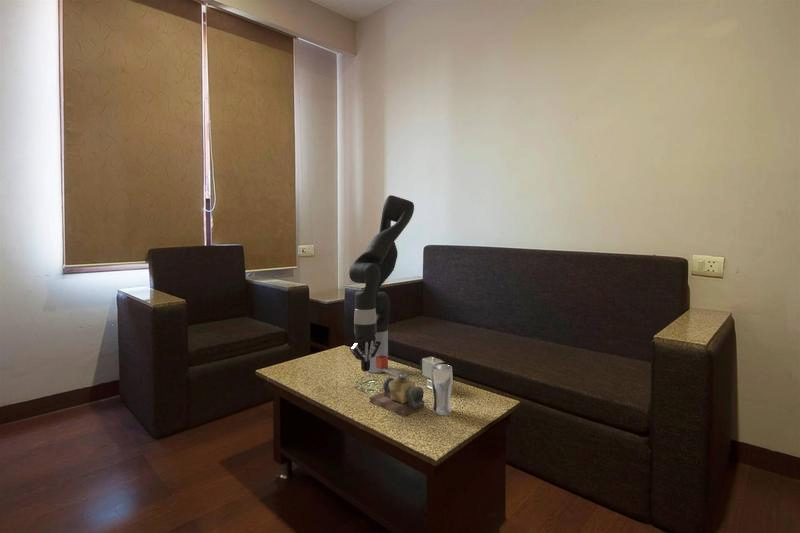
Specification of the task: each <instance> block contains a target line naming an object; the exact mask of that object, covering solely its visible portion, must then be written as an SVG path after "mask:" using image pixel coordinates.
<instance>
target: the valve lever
mask: <svg viewBox="0 0 800 533" xmlns="http://www.w3.org/2000/svg"><path fill="white" fill-rule="evenodd" d="M376 369H379V370H382V371H384V372H383V373H386V374H390V375H393V376H395V377H398V378H399V379H408V373H407V372H402V371H400V370H397V369H393V368H391V367H389V356H388V357H386V356H383V355H381V356H377V357H376ZM398 378H397V379H398Z"/></svg>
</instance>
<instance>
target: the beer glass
mask: <svg viewBox="0 0 800 533" xmlns="http://www.w3.org/2000/svg"><path fill="white" fill-rule="evenodd" d="M430 379H431V384H432V395H433V396H432V397H433V404H432V405H433V407H432V413H433V414H434V415H437V416H448V415H450V414H452V409H451V408H452V407H451V395H452V390H453V379H454V378H453V366H452V365H449V364H447V363H446V364H437V365H433V366H432V374H431V378H430Z"/></svg>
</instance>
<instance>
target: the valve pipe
mask: <svg viewBox="0 0 800 533" xmlns="http://www.w3.org/2000/svg"><path fill="white" fill-rule="evenodd" d="M382 384H383V385H382V389H383V391H382V392H379V393H377V394H374V395H372V396H370V397H369V403H370V404H372V405H375V406H377V407H380V408H382V409H384V410H387V411H389V412H392V413H395V414H396V415H399V416H402V417H406V416H408V415H410V414H412V413H415V412H416V411H418V410H421V409H423V408H424V407H425V401H424V400H423V398H424V395H425V394H424V389H423V387H421V386H416V380H413V379H410V378H407V379H399V378H393V377H390V376H389V377H387V378H385V379H384V382H383V383H382Z"/></svg>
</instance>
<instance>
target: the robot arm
mask: <svg viewBox="0 0 800 533" xmlns="http://www.w3.org/2000/svg"><path fill="white" fill-rule="evenodd" d="M414 212H415V204H414V202H412V201H411V200H408V199H405V198H402V197H399V196H396V195H392V194H391V195H390V194H389V195H388V196H387V197H386V199H385V200H384V203H383V207H382V214H381V219H380V226H379V231H378V232H379V233H377V234H376V235H375V236H373V238H372V240H371V241H370V243H369V244H368V246H367V248H366V249H365V251H364V252H363V253H362V254H360V255H359V256H358V258H356V259H355V260H354V261H353V263H352V264H351V265H350V267H349V272H348V275H349V279H350V281H352V282H353V283H356V284H363V285H365V286H364V288H363V289H360V290H357V291H356V292H355V294H354V313H353V314H354V315H353V319H354V320H353V330H354V331H353V333H354V336H355V339H354V344H353V346H350V347H349V351H350V352H351V354H352V355H353V357H355V359H356V360H359V361H360V365H361V366H360V367H361V371H362V372H365V373H366V372H368V373H373V374H382V373H385V372H384V371H382V370H379V369H376V357H377V356H381V355H383V356H386V357H388V358H389V340H388V339H389V333H388V332H389V331H388V330H389V324H390V307H391V302H390V297H389V295H388V294H387V293H386V292H384V291H379V290H380V288H381V287H382V285H383V284H384V283H385V281H386V280H387V279H389V277H390V275H391V274H392V273H393V272H394V271H395V270H394V269H395V266H396V263H397V259H398V255H399V254H398V248H397V245H396V242H395V241H396V240H397V239H398V238H399V237H400V235H401V234H402V233H403V231H404V230H405V229H406V227H407V226H408V224H409V223H410V222H411V219H412V217H413V215H414ZM392 222H394V224H393V225H392Z"/></svg>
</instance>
